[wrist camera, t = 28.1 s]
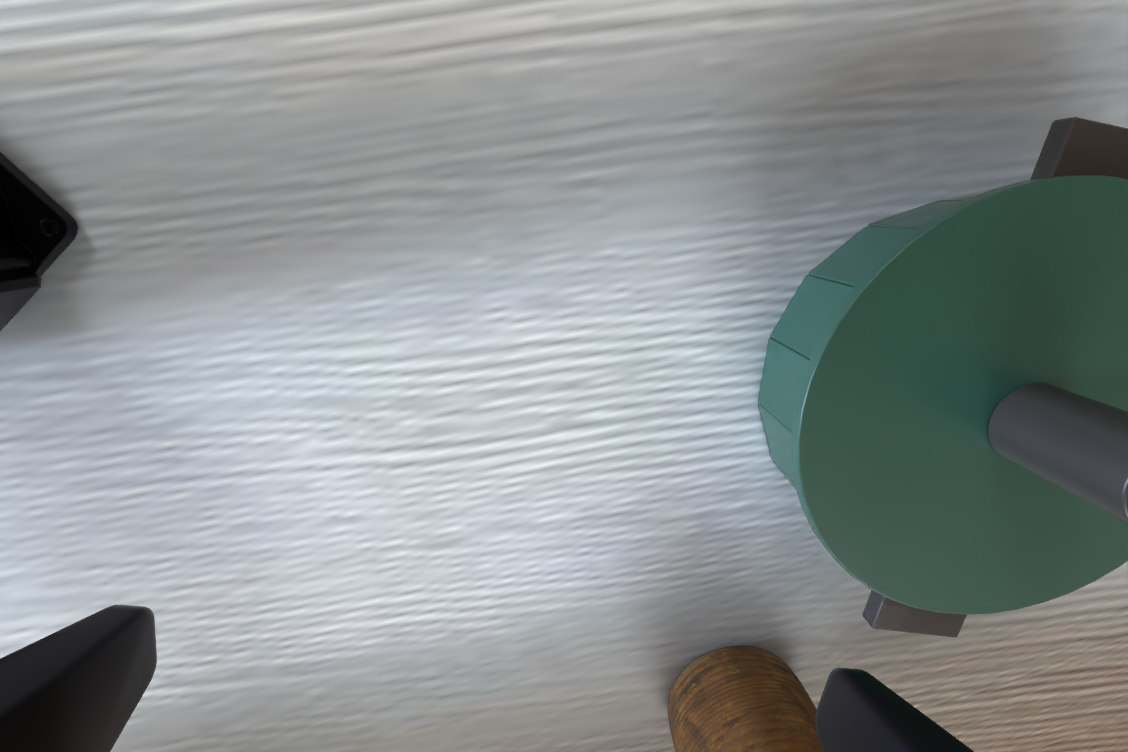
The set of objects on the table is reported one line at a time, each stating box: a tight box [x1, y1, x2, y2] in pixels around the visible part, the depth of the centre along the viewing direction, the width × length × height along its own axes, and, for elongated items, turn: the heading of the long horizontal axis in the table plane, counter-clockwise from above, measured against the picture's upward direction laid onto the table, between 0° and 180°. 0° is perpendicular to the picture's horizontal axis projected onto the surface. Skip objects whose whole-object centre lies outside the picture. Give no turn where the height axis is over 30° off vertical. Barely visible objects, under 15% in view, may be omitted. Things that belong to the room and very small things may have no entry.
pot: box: [758, 117, 1128, 637], centre depth 19 cm, size 13×15×4 cm
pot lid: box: [792, 175, 1128, 614], centre depth 15 cm, size 14×14×4 cm
